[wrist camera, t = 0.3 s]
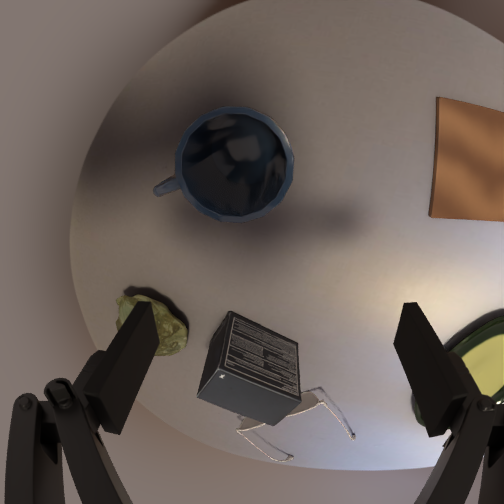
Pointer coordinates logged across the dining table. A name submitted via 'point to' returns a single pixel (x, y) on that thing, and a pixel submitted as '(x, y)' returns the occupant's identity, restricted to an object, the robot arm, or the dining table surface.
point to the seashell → (157, 324)
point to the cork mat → (468, 162)
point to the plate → (483, 360)
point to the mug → (232, 165)
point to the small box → (251, 371)
